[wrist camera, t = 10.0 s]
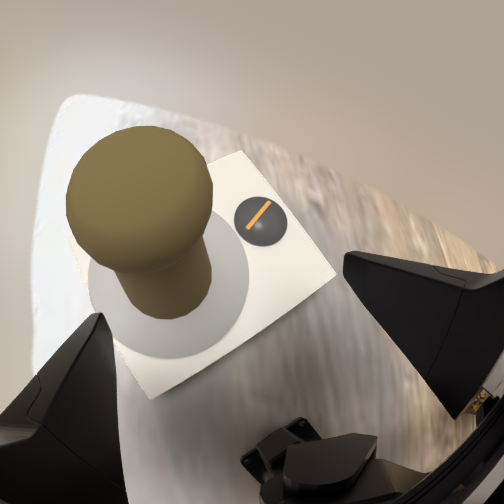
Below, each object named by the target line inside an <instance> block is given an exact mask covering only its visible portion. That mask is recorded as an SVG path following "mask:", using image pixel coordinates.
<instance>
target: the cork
mask: <svg viewBox="0 0 504 504" xmlns="http://www.w3.org/2000/svg"><path fill="white" fill-rule="evenodd" d="M212 206H213V182H212V179H211V176H210V173H209V170H208V168H207V165H206V162H205V159H204V157H203V156H202V155H201V154H200V152H199V151H198V150H197V149H196V148H195V147H194V145H193V144H192V143H191V142H189V141H188V140H187V139H186V138H184V137H182V136H181V135H179V134H177V133H175V132H174V131H172V130H169V129H164V128H160V127H156V126H136V127H131V128H127V129H124V130H120V131H116V132H114V133H112V134H111V135H109V136H107V137H105V138H103V139H101V140H99V141H98V142H97V143H96V144H95V145H94V146H92V147H91V148H90V149H89V150H88V151H87V152H86V153H85V154H84V155H83V156H82V158H81V159H80V161H79V162H78V164H77V165H76V167H75V168H74V170H73V173H72V176H71V179H70V182H69V185H68V189H67V193H66V216H67V219H68V223H69V226H70V228H71V230H72V233H73V235H74V237H75V239H76V242H77V244H78V245H79V246H80V247H81V248H82V249H83V250H84V251H85V252H86V253H87V254H88V255H89V256H90V257H91V258H93V259H94V260H95V261H96V262H97V263H98V264H99V265H102V266H104V267H107V268H109V269H111V270H114V272H115V274H116V276H117V278H118V280H119V282H120V284H121V286H122V288H123V290H124V292H125V294H126V295H127V297H128V299H129V300H130V302H131V303H132V305H133V306H135V307H136V308H137V309H138V310H139V311H141V312H142V313H143V314H145V315H148V316H150V317H153V318H156V319H170V320H172V319H175V318H179V317H182V316H186V315H187V314H189V313H190V312H192V311H193V310H194V309H196V308H197V307H199V305H200V304H201V303H202V301H203V300H204V298H205V297H206V296H207V294H208V291H209V288H210V285H211V282H212V266H211V263H210V260H209V256H208V253H207V249H206V246H205V242H204V239H203V234H204V231H205V229H206V226H207V224H208V221H209V219H210V216H211V213H212Z"/></svg>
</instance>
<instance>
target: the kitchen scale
mask: <svg viewBox="0 0 504 504" xmlns="http://www.w3.org/2000/svg"><path fill="white" fill-rule="evenodd" d="M207 168H208V170H209V173H210V176H211V179H212V182H213V206H212V213H211V216H210V219H209V221H208V224H207V226H206V229H205V231H204V234H203V239H204V242H205V246H206V249H207V253H208V256H209V260H210V263H211V266H212V282H211V285H210V288H209V291H208V294H207V296H206V297H205V298H204V300H203V301H202V303H201V304H200V305H199V307H197V308H196V309H194V310H193V311H192V312H190V313H189V314H187V315H186V316H182V317H179V318H175V319H172V320H170V319H156V318H153V317H150V316H148V315H145V314H143V313H142V312H141V311H139V310H138V309H137V308H136V307H135V306H133V305H132V303H131V302H130V300H129V299H128V297H127V295H126V294H125V292H124V290H123V288H122V286H121V284H120V282H119V280H118V278H117V276H116V274H115V272H114V270H111V269H109V268H107V267H104V266H102V265H99V264H98V263H97V262H96V261H95V260H94V259H93V258H91V257H90V256H89V255H88V254H87V253H86V252H85V251H84V250H83V249H82V248H81V247H80V246H79V245H78V244H77V242H76V239H75V237H74V235H73V236H71V237H69V238H68V241H69V244H70V247H71V250H72V252H73V255H74V258H75V260H76V263H77V265H78V268H79V270H80V273H81V275H82V278H83V280H84V282H85V285H86V287H87V289H88V291H89V295H90V299H91V303H92V306H93V308H94V311H95V313H98V312H102V313H103V314H104V316H105V318H106V321H107V323H108V325H109V327H110V329H111V332H112V335H113V342H114V344H115V345H116V347H117V349H118V351H119V352H120V354H121V356H122V358H123V359H124V361H125V363H126V364H127V366H128V368H129V369H130V371H131V372H132V374H133V376H134V377H135V379H136V380H137V382H138V384H139V385H140V387H141V388H142V390H143V391H144V393H145V394H146V396H147V397H148V398H149V400H152V399H153V398H155V397H157V396H159V395H160V394H162V393H164V392H166V391H167V390H169V389H171V388H172V387H174V386H176V385H177V384H179V383H181V382H183V381H184V380H186V379H187V378H189V377H191V376H192V375H194V374H196V373H197V372H199V371H200V370H202V369H204V368H205V367H207V366H208V365H210V364H212V363H213V362H215V361H216V360H218V359H219V358H221V357H223V356H224V355H226V354H227V353H229V352H230V351H232V350H233V349H235V348H236V347H238V346H239V345H241V344H242V343H244V342H245V341H247V340H248V339H250V338H251V337H253V336H254V335H255V334H257V333H258V332H260V331H261V330H263V329H264V328H266V327H267V326H268V325H270V324H271V323H273V322H274V321H275V320H277V319H278V318H280V317H281V316H282V315H284V314H285V313H287V312H288V311H289V310H291V309H292V308H293V307H295V306H296V305H298V304H299V303H300V302H302V301H303V300H304V299H306V298H307V297H308V296H310V295H311V294H312V293H314V292H315V291H316V290H317V289H319V288H320V287H321V286H323V285H324V284H325V283H327V282H328V281H329V280H330V279H332V278H333V277H334V276H336V275H337V274H336V273H335V271H334V270H333V269H332V267H331V266H330V264H329V263H328V262H327V260H326V259H325V257H324V256H323V255H322V253H321V252H320V250H319V249H318V248H317V246H316V245H315V244H314V242H313V241H312V240H311V238H310V237H309V235H308V234H307V233H306V231H305V230H304V229H303V227H302V226H301V225H300V223H299V222H298V221H297V219H296V218H295V217H294V216H293V214H292V213H291V212H290V210H289V209H288V208H287V206H286V205H285V204H284V203H283V201H282V200H281V199H280V197H279V196H278V195H277V194H276V192H275V191H274V190H273V188H272V187H271V186H270V185H269V183H268V182H267V181H266V180H265V178H264V177H263V176H262V175H261V173H260V172H259V171H258V170H257V169H256V167H255V166H254V165H253V164H252V162H251V161H250V160H249V159H248V158H247V156H246V155H245V154H244V153H243V151H242V150H240V151H238V152H235V153H233V154H230V155H228V156H225V157H223V158H221V159H218V160H216V161H214V162H211V163H209V164H207Z"/></svg>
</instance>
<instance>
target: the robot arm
mask: <svg viewBox="0 0 504 504" xmlns="http://www.w3.org/2000/svg"><path fill="white" fill-rule="evenodd" d="M343 276H344V278H345V279H346V281H347V282H348V284H349V285H350V287H351V288H352V289H353V291H354V292H355V294H356V295H357V297H358V298H359V299H360V301H361V302H362V304H363V305H364V306H365V307H366V309H367V310H368V311H369V312H370V313H371V315H372V316H373V317H374V318H375V319H376V320H377V322H378V323H379V324H380V325H381V326H382V328H383V329H384V330H385V331H386V333H387V334H388V335H389V336H390V337H391V339H392V340H393V341H394V342H395V344H396V345H397V346H398V347H399V348H400V350H401V351H402V352H403V353H404V355H405V356H406V357H407V358H408V360H409V361H410V362H411V364H412V365H413V366H414V367H415V369H416V370H417V371H418V373H419V374H420V375H421V376H422V378H423V379H424V380H425V382H426V383H427V384H428V386H429V387H430V388H431V390H432V391H433V392H434V394H435V395H436V396H437V398H438V399H439V401H440V402H441V403H442V405H443V406H444V407H445V409H446V410H447V411H448V413H449V414H450V416H451V417H452V418H453V419H454V420H456V419H457V418H458V417H459V416H460V415H461V414H462V413H463V412H464V411H465V410H466V409H467V408H468V406H469V405H470V404H471V403H472V402H473V401H474V400H475V399H476V398H477V397H478V396H479V394H480V393H481V392H482V391H483V390H484V391H485V392H486V393H487V394H488V395H489V396H488V397H487V398H486V400H485V401H484V402H483V403H482V405H481V406H480V407H479V408H478V410H477V411H476V429H475V430H474V431H473V432H472V433H471V434H470V435H469V437H468V438H467V439H466V440H465V441H464V442H463V443H462V444H461V445H460V446H459V447H458V448H457V449H456V450H455V451H454V452H453V453H452V454H451V455H450V456H449V457H448V458H447V459H446V460H444V461H443V462H442V463H441V464H440V465H439V466H438V467H437V468H435V469H434V470H433V471H432V472H428V473H420V472H417V471H414V470H411V469H408V468H405V467H403V466H400V465H397V464H394V463H392V462H389V461H387V460H384V459H376V450H377V436H371V435H364V434H357V433H351V434H346V435H342V436H338V437H333V438H328V439H323V440H322V438H321V437H320V436H319V435H318V433H317V432H316V431H315V430H314V428H313V427H312V426H311V425H310V423H309V422H308V421H307V420H306V419H305V418H302V417H300V418H298V419H296V420H295V421H293V422H292V423H291V424H289V425H288V426H287V427H285V428H280V429H279V430H277V431H276V432H274V433H273V434H271V435H270V436H269V437H267V438H266V439H264V440H263V441H261V442H260V443H258V444H257V446H256V448H255V449H253V450H252V451H250V452H248V453H247V454H245V455H244V456H242V457H241V459H240V462H241V464H242V465H243V466H244V467H245V468H246V469H247V470H248V471H249V473H250V474H251V475H252V476H253V477H254V478H255V479H256V480H257V481H258V482H259V483H260V484H261V485H262V486H261V489H260V494H259V496H260V504H504V269H503V270H501V271H499V272H497V273H493V274H484V273H477V272H470V271H463V270H457V269H451V268H445V267H440V266H435V265H429V264H424V263H419V262H414V261H409V260H403V259H398V258H392V257H387V256H382V255H376V254H371V253H365V252H359V251H351V252H347V253H346V254H345V255H344V262H343ZM301 421H303V424H302V425H299V423H300V422H301ZM246 459H249V462H244V460H246ZM0 504H129V503H128V498H127V492H126V487H125V481H124V475H123V468H122V460H121V451H120V442H119V430H118V414H117V379H116V366H115V356H114V345H113V335H112V332H111V329H110V327H109V325H108V323H107V321H106V318H105V316H104V314H103V313H102V312H98V313H93V314H91V315H90V316H89V317H88V318H87V319H86V320H85V321H84V322H83V323H82V324H81V325H80V326H79V327H78V328H77V329H76V330H75V331H74V333H73V334H72V335H71V336H70V337H69V338H68V339H67V340H66V341H65V342H64V343H63V344H62V346H61V347H60V348H59V349H58V350H57V351H56V352H55V353H54V354H53V356H52V357H51V358H50V359H49V360H48V361H47V362H46V364H45V365H44V366H43V367H42V368H41V369H40V370H39V372H38V373H37V375H35V376H34V377H33V379H32V380H31V381H30V383H28V385H27V386H26V387H25V388H24V389H23V391H22V392H21V393H20V394H19V395H18V396H17V397H16V398H15V399H14V400H13V401H12V402H11V404H10V405H9V406H8V407H7V408H6V409H5V410H4V411H3V412H2V413H1V414H0Z"/></svg>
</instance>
